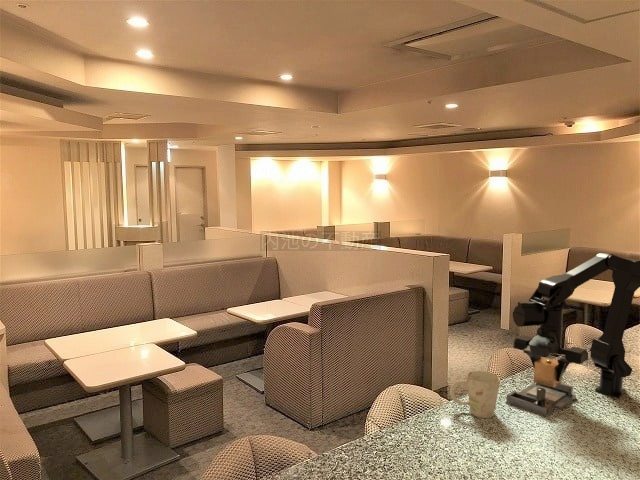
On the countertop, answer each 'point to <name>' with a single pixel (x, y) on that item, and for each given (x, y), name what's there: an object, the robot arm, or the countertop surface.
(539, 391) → the lever
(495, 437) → the countertop surface
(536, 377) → the block
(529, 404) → the lever track
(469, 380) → the mug
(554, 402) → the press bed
